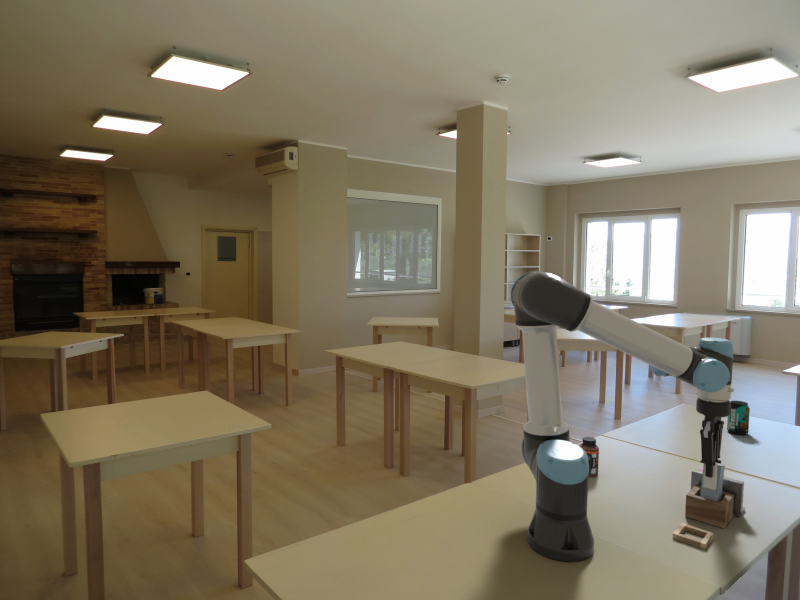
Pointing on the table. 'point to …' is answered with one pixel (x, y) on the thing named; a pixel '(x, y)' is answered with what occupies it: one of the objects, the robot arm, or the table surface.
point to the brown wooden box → (709, 507)
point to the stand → (702, 544)
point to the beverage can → (738, 418)
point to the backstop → (725, 490)
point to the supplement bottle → (591, 454)
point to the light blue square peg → (717, 492)
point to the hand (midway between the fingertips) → (709, 487)
